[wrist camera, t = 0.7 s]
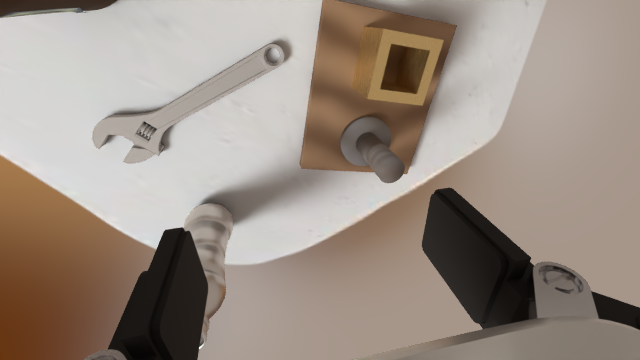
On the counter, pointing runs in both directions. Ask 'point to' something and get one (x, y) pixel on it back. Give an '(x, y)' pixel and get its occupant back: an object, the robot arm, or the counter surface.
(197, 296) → the robot arm
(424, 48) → the brass collar
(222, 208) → the plastic bottle
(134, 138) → the adjustable wrench
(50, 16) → the counter surface
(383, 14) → the shaft board
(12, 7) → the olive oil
